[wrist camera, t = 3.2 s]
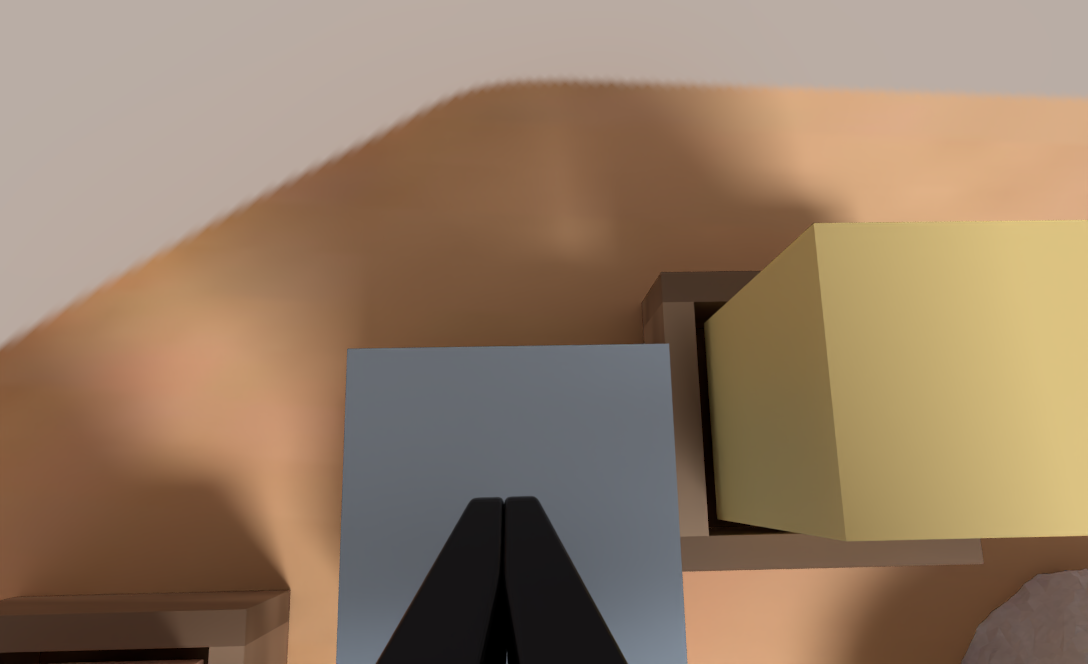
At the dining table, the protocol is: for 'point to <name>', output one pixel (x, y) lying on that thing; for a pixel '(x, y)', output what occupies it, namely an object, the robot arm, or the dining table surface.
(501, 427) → the blue-grey block
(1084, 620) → the stone block
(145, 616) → the walnut sockets
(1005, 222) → the ochre block
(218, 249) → the dining table surface
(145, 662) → the tan block
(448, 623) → the robot arm
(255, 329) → the dining table surface
